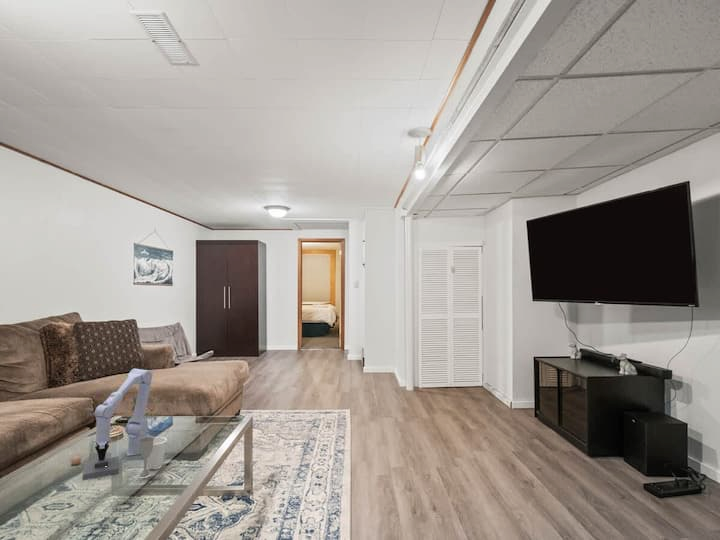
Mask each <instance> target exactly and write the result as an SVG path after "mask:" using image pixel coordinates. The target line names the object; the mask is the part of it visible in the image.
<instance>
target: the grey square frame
mask: <svg viewBox="0 0 720 540" xmlns="http://www.w3.org/2000/svg"><path fill="white" fill-rule="evenodd" d="M83 466H84V467H83V472H82V480H83V479H85V480H89V479H88V478H91V479H94V478H95V479H96V478H101V477H106V476H113V475H117V474H119V456H112V457H106V459H105V460H104V461H103V462H98V461H97V459H94V460H88V461H85V462H84V465H83ZM105 466H107V467H105Z"/></svg>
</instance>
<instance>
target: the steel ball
mask: <svg viewBox="0 0 720 540" xmlns="http://www.w3.org/2000/svg"><path fill="white" fill-rule="evenodd" d="M106 458H107V454H106V455H105V459H106ZM105 459H104V460H105ZM96 460H97V461H98V462H103V461H104V460H100V461H99V458H98V455H97V456H96Z"/></svg>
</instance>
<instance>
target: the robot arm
mask: <svg viewBox="0 0 720 540" xmlns="http://www.w3.org/2000/svg"><path fill="white" fill-rule="evenodd" d="M152 379H153V372H152V371H151V370H149V369H142V368H141V369H140V368H136V367H135V368H132V369H131V370H130V371H129V373H128V374H127V378H126V379H125V380H124V381H123V383H122V384H121V386H120V387H119V388H118V389H117V391H113V392H112V393H111V394H110V395H109V396H108V397H107V398H106V400H104V402H103V403H102V404H99V405H98V406H96V408H95V410H94V412H93V415H94V417H95V421H96V430H95V432H96V433H95V439H93V440H92V443H95V447H94V448H95V451H96V452H97V456H98V458H99V461H100V460H104V459H105V455H106V456H107V451H108V449H109V447H110V444H109V443H110V441H111V437H110V436H111V418H112V416H113V415H114V413H115V410H116V407H118V406H119V404H120V403H121V402H122V401H123V399H124V395H125V394H126V393H127V392H128V391H129V390H130V389H131V388H132V387H133V386H134V385H137V386H138V391H137V396H136V400H135V406H134V411H133V415H132V417H130V418H129V419H128V421H127V424H126V426H125V428H124V430H125V433H126V434H127V437H128V441H127V443H128V445H127V449H126V456H127V457H129V456H137V455H141V454H140V452H139V440H138V439H139V438H140V437H142V436H149V434H148V433H147V432H148V430H149V429H148V428H149V425H148V423H149V420H148V419H147V418H146V417H145V415H146V410H147V405H148V400H149V397H150V389H151V384H152Z"/></svg>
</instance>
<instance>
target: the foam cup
mask: <svg viewBox="0 0 720 540" xmlns="http://www.w3.org/2000/svg"><path fill="white" fill-rule="evenodd" d="M154 437H155V436H154ZM167 444H168V439H167V438H166V437H164V436H158V437H157V436H156V437H155V438H154V440H153V450H152V452H151V454H150V456H149V457H148V458H147V463H146V464H147V469H148V468H149V469H148V470H150V469H155V468H158V467H160V466H162V467H163V464H164V463H163V462H164V459H165V454H166V453H165V452H166V447H167Z"/></svg>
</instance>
